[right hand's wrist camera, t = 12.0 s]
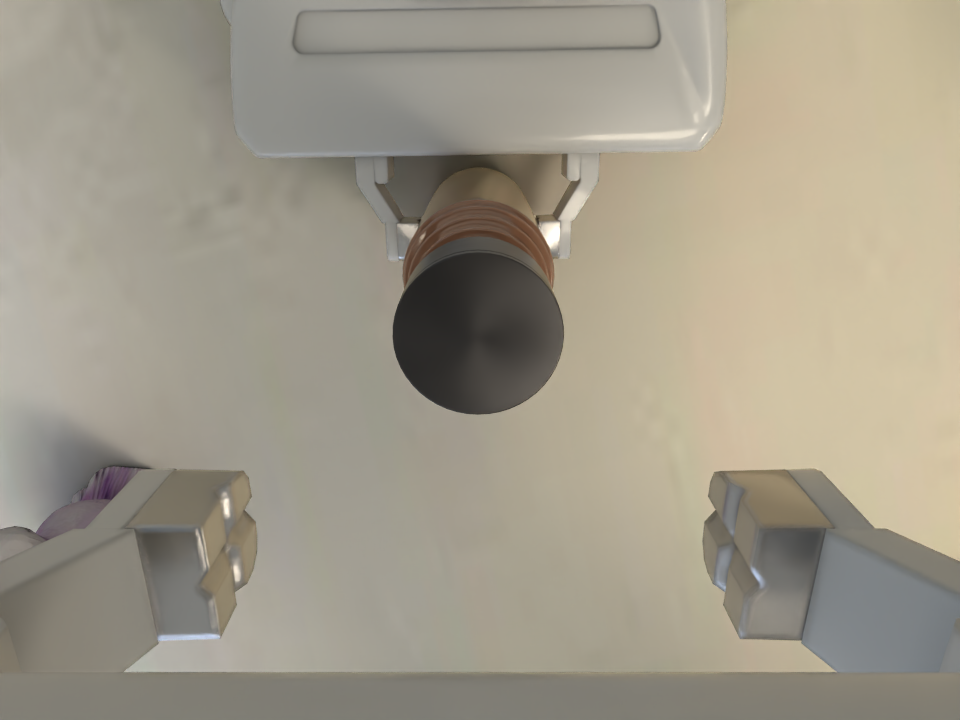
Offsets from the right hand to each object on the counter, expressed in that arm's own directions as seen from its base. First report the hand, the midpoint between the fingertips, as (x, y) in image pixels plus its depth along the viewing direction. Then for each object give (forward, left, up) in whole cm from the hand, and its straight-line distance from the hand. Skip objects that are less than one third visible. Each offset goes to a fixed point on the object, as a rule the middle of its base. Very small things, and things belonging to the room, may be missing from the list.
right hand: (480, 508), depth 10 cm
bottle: (0, 0, -27) cm, 27 cm away
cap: (0, 0, -8) cm, 8 cm away
